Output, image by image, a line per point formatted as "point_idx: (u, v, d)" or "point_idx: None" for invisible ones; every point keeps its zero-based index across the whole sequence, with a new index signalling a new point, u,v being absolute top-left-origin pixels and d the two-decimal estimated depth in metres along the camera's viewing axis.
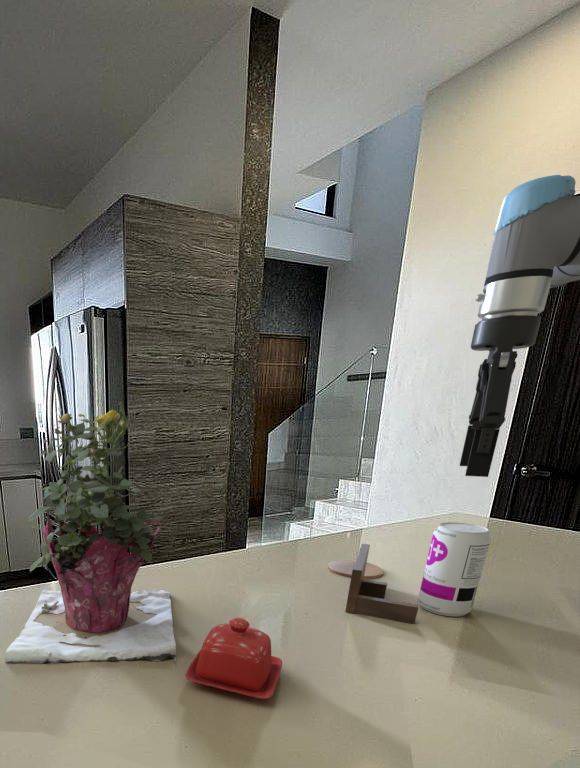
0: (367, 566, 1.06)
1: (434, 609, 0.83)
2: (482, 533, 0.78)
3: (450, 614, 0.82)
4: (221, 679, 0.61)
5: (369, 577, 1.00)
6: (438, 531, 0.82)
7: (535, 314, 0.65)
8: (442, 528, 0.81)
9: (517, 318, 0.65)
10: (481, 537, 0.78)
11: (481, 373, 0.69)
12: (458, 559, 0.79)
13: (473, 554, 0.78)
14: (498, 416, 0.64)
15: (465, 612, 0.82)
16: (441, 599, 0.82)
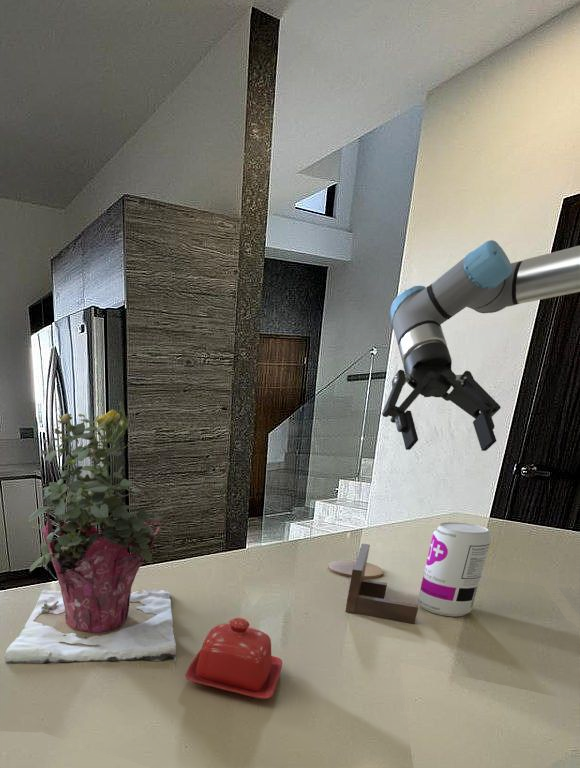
0: (367, 566, 1.06)
1: (434, 609, 0.83)
2: (482, 533, 0.78)
3: (450, 614, 0.82)
4: (221, 679, 0.61)
5: (369, 577, 1.00)
6: (438, 531, 0.82)
7: (425, 343, 0.90)
8: (442, 528, 0.81)
9: (408, 355, 0.92)
10: (481, 537, 0.78)
11: None
12: (458, 559, 0.79)
13: (473, 554, 0.78)
14: (387, 405, 0.87)
15: (465, 612, 0.82)
16: (441, 599, 0.82)
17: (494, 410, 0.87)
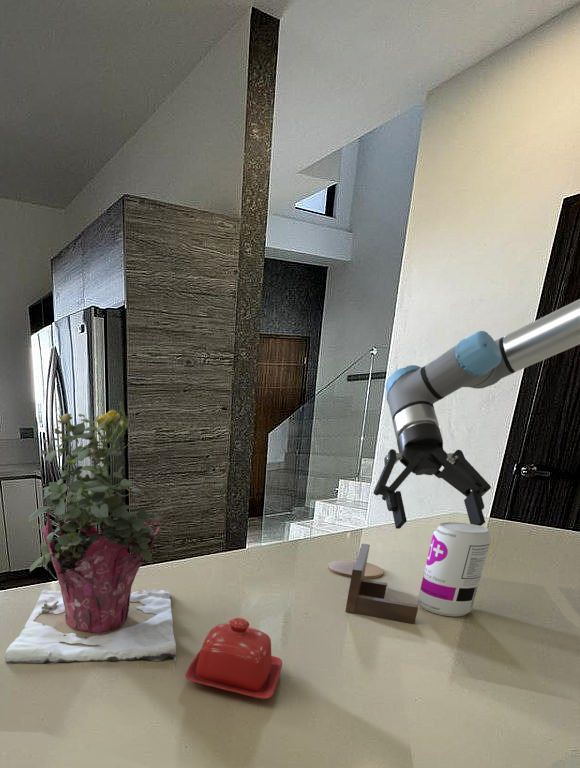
0: (367, 566, 1.06)
1: (434, 609, 0.83)
2: (482, 533, 0.78)
3: (450, 614, 0.82)
4: (221, 679, 0.61)
5: (369, 577, 1.00)
6: (438, 531, 0.82)
7: (417, 424, 0.94)
8: (442, 528, 0.81)
9: (401, 434, 0.95)
10: (481, 537, 0.78)
11: None
12: (458, 559, 0.79)
13: (473, 554, 0.78)
14: (377, 485, 0.91)
15: (465, 612, 0.82)
16: (441, 599, 0.82)
17: (484, 490, 0.89)
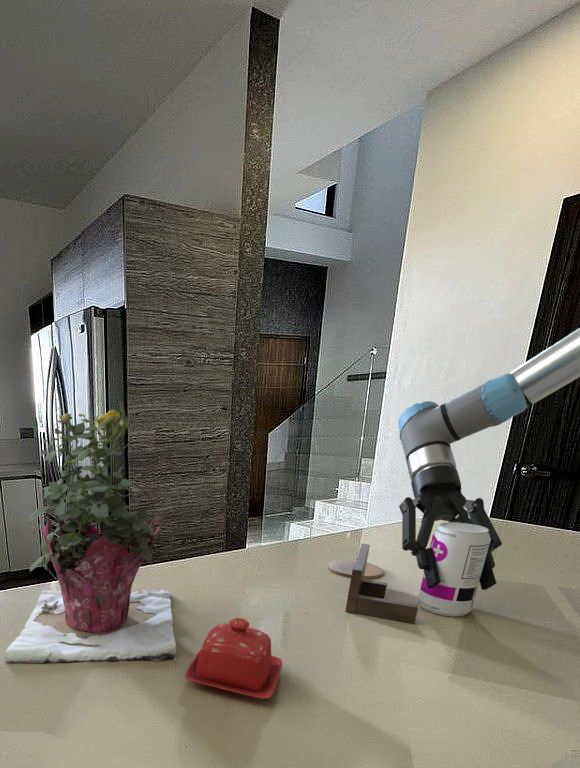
0: (367, 566, 1.06)
1: (434, 609, 0.83)
2: (482, 533, 0.78)
3: (450, 614, 0.82)
4: (221, 679, 0.61)
5: (369, 577, 1.00)
6: (438, 531, 0.82)
7: (433, 466, 0.88)
8: (442, 528, 0.81)
9: (416, 475, 0.89)
10: (481, 537, 0.78)
11: None
12: (458, 559, 0.79)
13: (473, 554, 0.78)
14: (407, 540, 0.84)
15: (465, 612, 0.82)
16: (441, 599, 0.82)
17: (494, 545, 0.83)
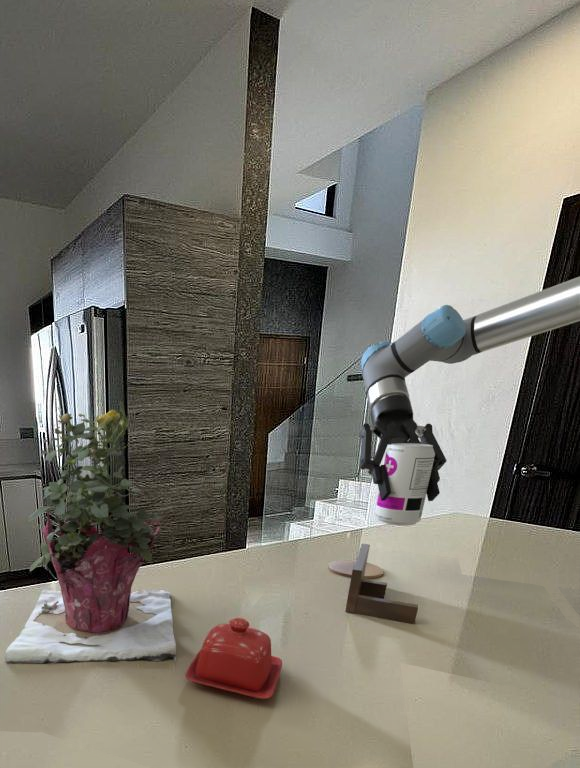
0: (367, 566, 1.06)
1: (387, 519, 0.94)
2: (426, 447, 0.89)
3: (401, 523, 0.93)
4: (221, 679, 0.61)
5: (369, 577, 1.00)
6: (389, 449, 0.92)
7: (388, 396, 0.98)
8: (393, 446, 0.92)
9: (374, 406, 1.00)
10: (426, 450, 0.89)
11: None
12: (406, 472, 0.90)
13: (418, 466, 0.89)
14: (364, 459, 0.95)
15: (414, 521, 0.93)
16: (392, 510, 0.93)
17: (440, 463, 0.94)
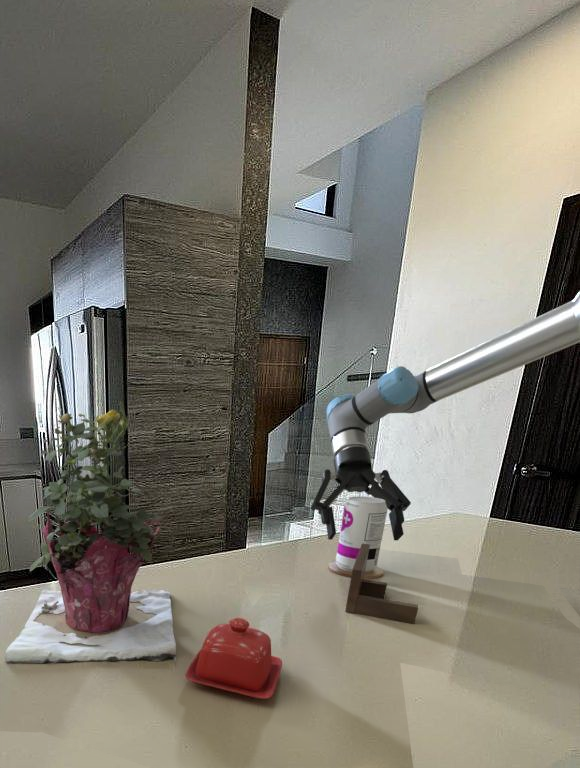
0: None
1: (345, 567, 1.03)
2: (379, 503, 0.97)
3: None
4: (221, 679, 0.61)
5: (369, 577, 1.00)
6: (347, 503, 1.01)
7: (349, 447, 1.07)
8: (350, 500, 1.00)
9: (336, 455, 1.08)
10: (378, 506, 0.97)
11: None
12: (361, 525, 0.98)
13: (372, 521, 0.97)
14: (313, 501, 1.04)
15: (369, 569, 1.01)
16: (350, 559, 1.02)
17: (405, 505, 1.02)
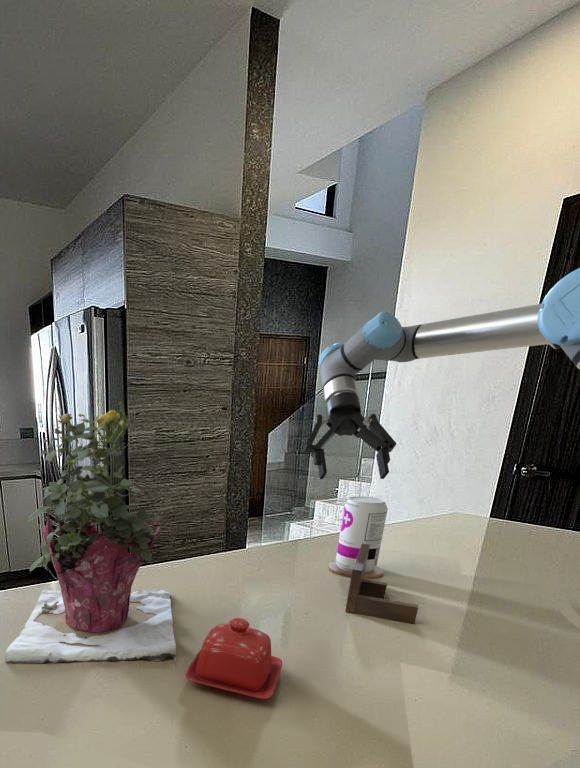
0: None
1: (345, 567, 1.03)
2: (379, 503, 0.97)
3: None
4: (221, 679, 0.61)
5: (369, 577, 1.00)
6: (347, 503, 1.01)
7: (339, 393, 1.14)
8: (350, 500, 1.00)
9: (327, 401, 1.16)
10: (378, 506, 0.97)
11: None
12: (361, 525, 0.98)
13: (372, 521, 0.97)
14: (306, 444, 1.12)
15: (369, 569, 1.01)
16: (350, 559, 1.02)
17: (391, 446, 1.10)
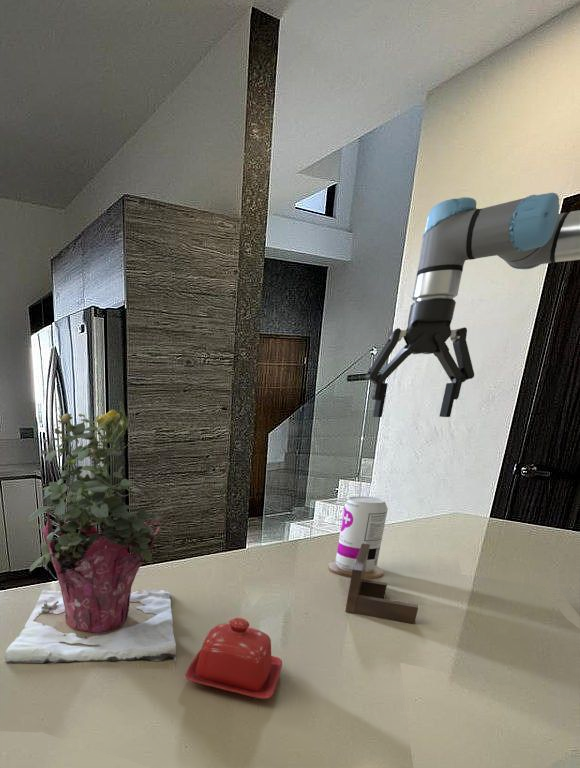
0: None
1: (345, 567, 1.03)
2: (379, 503, 0.97)
3: None
4: (221, 679, 0.61)
5: (369, 577, 1.00)
6: (347, 503, 1.01)
7: (433, 297, 0.90)
8: (350, 500, 1.00)
9: (415, 303, 0.92)
10: (378, 506, 0.97)
11: None
12: (361, 525, 0.98)
13: (372, 521, 0.97)
14: (370, 374, 0.97)
15: (369, 569, 1.01)
16: (350, 559, 1.02)
17: (467, 378, 0.96)
